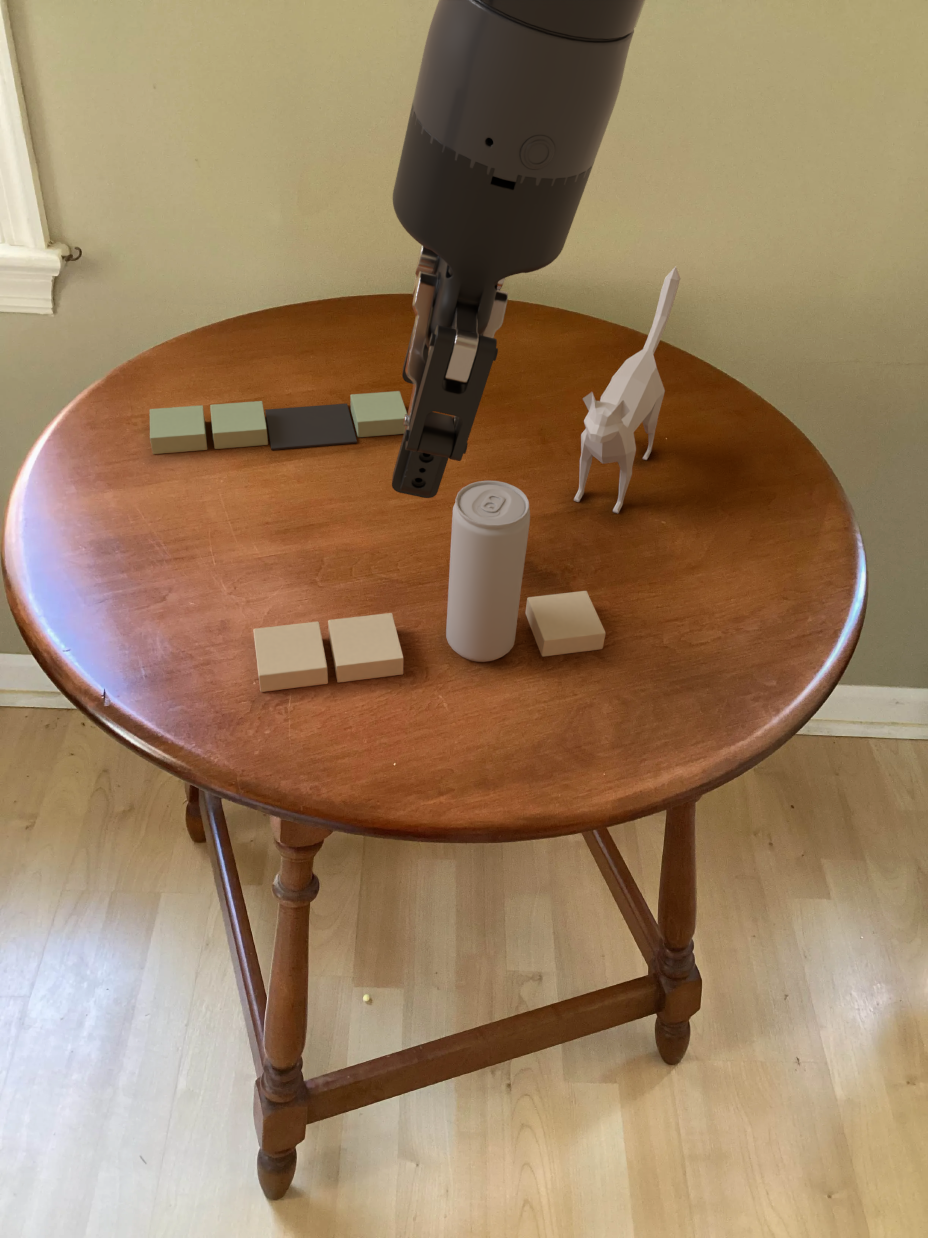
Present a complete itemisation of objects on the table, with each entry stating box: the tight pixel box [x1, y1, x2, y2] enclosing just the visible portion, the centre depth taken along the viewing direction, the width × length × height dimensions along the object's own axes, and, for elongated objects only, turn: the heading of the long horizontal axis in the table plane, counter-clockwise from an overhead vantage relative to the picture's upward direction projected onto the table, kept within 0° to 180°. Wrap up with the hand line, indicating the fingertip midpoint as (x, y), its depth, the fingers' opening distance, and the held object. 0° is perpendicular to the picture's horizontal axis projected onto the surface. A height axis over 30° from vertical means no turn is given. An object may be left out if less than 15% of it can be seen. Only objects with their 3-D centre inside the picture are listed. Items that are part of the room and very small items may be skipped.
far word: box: [149, 390, 408, 455], centre depth 89 cm, size 21×6×2 cm, turn 103°
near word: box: [252, 590, 606, 693], centre depth 71 cm, size 23×4×2 cm, turn 103°
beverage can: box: [445, 480, 531, 663], centre depth 68 cm, size 5×5×12 cm
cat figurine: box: [573, 266, 681, 514], centre depth 83 cm, size 4×20×14 cm, turn 157°
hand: (417, 433), depth 53 cm, fingers open, 8 cm apart
